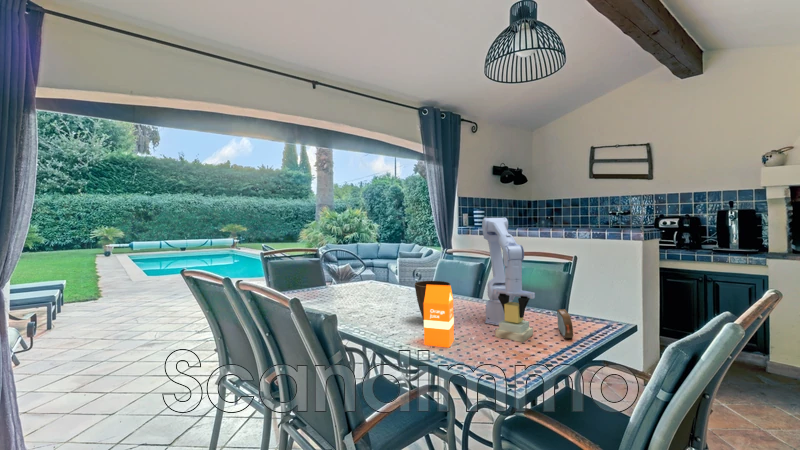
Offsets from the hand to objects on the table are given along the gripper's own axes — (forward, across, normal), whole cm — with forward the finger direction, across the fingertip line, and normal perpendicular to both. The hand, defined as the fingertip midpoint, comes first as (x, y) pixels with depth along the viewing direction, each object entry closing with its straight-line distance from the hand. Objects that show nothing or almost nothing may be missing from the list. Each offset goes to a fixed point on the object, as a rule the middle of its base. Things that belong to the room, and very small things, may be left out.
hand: (514, 315), depth 128 cm
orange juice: (+7, -18, -22) cm, 29 cm away
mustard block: (+2, 0, 0) cm, 2 cm away
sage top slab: (+5, 0, 0) cm, 5 cm away
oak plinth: (+7, 0, 0) cm, 7 cm away
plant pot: (+7, -34, -2) cm, 35 cm away
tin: (+8, +14, +12) cm, 20 cm away
